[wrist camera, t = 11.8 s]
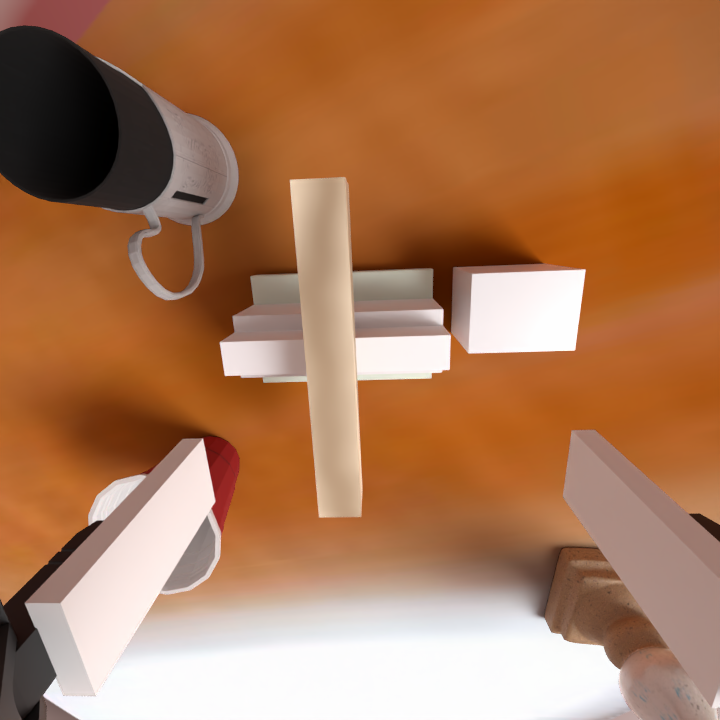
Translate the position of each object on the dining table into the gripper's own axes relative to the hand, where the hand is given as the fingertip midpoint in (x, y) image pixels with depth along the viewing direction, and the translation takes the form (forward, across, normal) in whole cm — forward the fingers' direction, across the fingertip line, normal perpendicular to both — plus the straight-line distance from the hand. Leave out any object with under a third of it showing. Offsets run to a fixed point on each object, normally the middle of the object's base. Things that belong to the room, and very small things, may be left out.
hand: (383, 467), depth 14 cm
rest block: (+24, +11, +2) cm, 26 cm away
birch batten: (+14, -3, 0) cm, 14 cm away
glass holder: (+24, -15, +11) cm, 30 cm away
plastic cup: (+23, -18, -14) cm, 33 cm away
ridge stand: (+24, -3, 0) cm, 24 cm away
